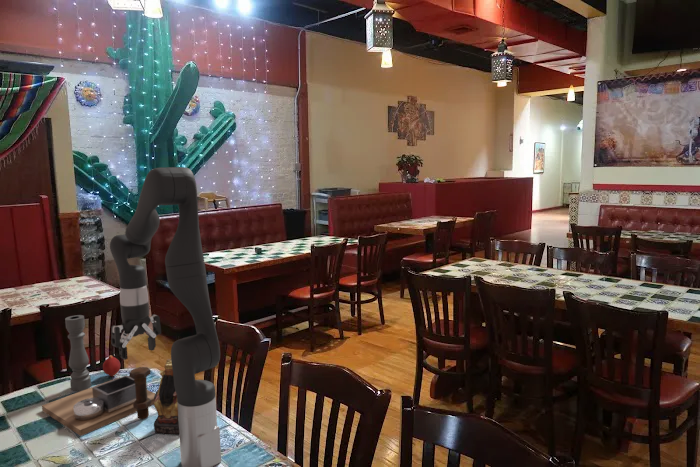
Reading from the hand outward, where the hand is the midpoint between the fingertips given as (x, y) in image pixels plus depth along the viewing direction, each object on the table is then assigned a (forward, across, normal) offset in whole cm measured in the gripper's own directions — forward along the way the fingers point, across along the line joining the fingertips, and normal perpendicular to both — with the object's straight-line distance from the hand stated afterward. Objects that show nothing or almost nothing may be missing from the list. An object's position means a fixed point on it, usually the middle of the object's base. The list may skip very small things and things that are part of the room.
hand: (138, 354), depth 143 cm
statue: (+20, +2, -14) cm, 25 cm away
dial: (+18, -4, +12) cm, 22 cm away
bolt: (+20, 0, 0) cm, 20 cm away
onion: (+20, +10, +37) cm, 43 cm away
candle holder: (+20, -1, +37) cm, 42 cm away
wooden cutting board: (+20, -4, +17) cm, 27 cm away
